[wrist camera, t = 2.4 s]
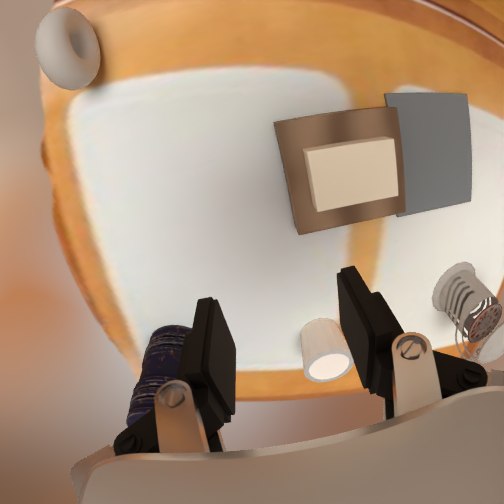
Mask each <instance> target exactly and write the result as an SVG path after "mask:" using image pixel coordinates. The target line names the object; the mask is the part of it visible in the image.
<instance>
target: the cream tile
mask: <svg viewBox="0 0 504 504" xmlns="http://www.w3.org/2000/svg"><path fill="white" fill-rule="evenodd" d="M303 153H304V158H305V163H306V168H307V174H308V179H309V185H310V191H311V196H312V202H313V206H314V208H315V209H316V211H317V212H321V211H325V210H330V209H335V208H340V207H344V206H349V205H354V204H359V203H364V202H369V201H374V200H379V199H384V198H389V197H394V196H398V179H397V166H396V155H395V145H394V139H393V138H389V137H385V136H384V137H376V138H368V139H361V140H354V141H347V142H340V143H334V144H328V145H322V146H316V147H311V148H305V149H303Z"/></svg>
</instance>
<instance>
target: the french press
mask: <svg viewBox="0 0 504 504" xmlns="http://www.w3.org/2000/svg"><path fill="white" fill-rule="evenodd" d="M489 297H491V305H490V306H489ZM486 298H487V306H486V308H485V309H484V310H483V311H482V309H483V307H484V305H485V299H486ZM432 302H433V306H434V307H435V308H436V309H437V310H438V311H445V312H446V313H447V315H448V316H449V317H450V319H451V320H452V321H453V323H454V324H455V325H456V333H455V341H456V345H457V348H458V350H459V352H460V354H461V355H462V357H463V358H465V359H466V360H468V361H475V360H477V359H478V360H479V362H480V363H488V362H491V361H495V360H496V359H497V358H499V357H500V356H502V355H503V354H504V322H503V323H501V324H500V325H499V326H497V327H496V328H495V330H494V331H493V332H492V330H493V329H494V327H495V326H496V325H497V323H498V322H499V319H500V318H501V315H502V307H501V305H500V304H498V300H497V298H496V297H495V296H494V295H493V294H492V293H491V292H490V291H489V290H488V289H487V288H486V287H485V286H484V285H483V284H482V283H481V282H480V281H479V280H478V279H477V278H476V277H475V269H474V267H473V266H472V264H470V263H467V262H462V263H458V264H456V265H454V266H453V267H451V268H450V269H448V270H447V271H446V272H445V273H444V275H443V276H442V277H441V278H440V279H439V281H438V283H437V285H436V287H435V288H434V292H433V296H432ZM480 302H482V304H481V307H480V308H479V309H478V310H477V311H476V312H474V313H472V314H470V312H471V311H472V310H474V309H475V308H476V307H477V306H478V305H479V303H480ZM449 310H451V313H450V312H449ZM480 311H482V312H481V313H480V314H479V315H478V316H477V317H476V318H475V319H474V318H473V316H475V315H477V314H478V313H479V312H480ZM453 313H454V314H455V318H454V317H453ZM457 318H458V319H459V320H460V321H459V323H458V322H457ZM462 327H463V328H462ZM464 327H465V328H466V330H467V331H468V336H467V334H466V333H465V331H464ZM457 329H459V331H460V332H461V334H462V341H463V345H464V348H465V350H466V351H467V353H468V354H469V355H470V356H471V357H473V358H474V359H468V358H466V357H465V356H464V355H463V354H462V352H461V350H460V349H459V346H458V343H457ZM490 332H491V334H490V335H489V336H488V338H487V339H486V340H485V342H484V343H483V345H482V347H481V348H480V349H477V350H476V353H477V355H478V357H477V358H476V357H474V356H472V355H471V354H470V353H469V351H468V350H467V349H466V346H465V344H464V340H463V336H464V337H465V338H466V337H468V340H469V341H470V342H477V341H480V340H482V339H483V338H484V337H486V336H487V335H488V334H489V333H490ZM478 350H480V351H479V353H478Z"/></svg>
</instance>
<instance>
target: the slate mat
mask: <svg viewBox="0 0 504 504" xmlns="http://www.w3.org/2000/svg"><path fill="white" fill-rule="evenodd" d="M384 96H385V101H386V107H397V111H398V118H399V125H400V133H401V142H402V152H403V163H404V177H405V200H406V212H404V213H399V214H397V217H401V216H406V215H410V214H415V213H420V212H424V211H429V210H433V209H438V208H443V207H447V206H452V205H456V204H461V203H465V202H470V201H471V189H472V149H471V130H470V118H469V109H468V100H467V94H454V93H393V94H384Z"/></svg>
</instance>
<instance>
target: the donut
mask: <svg viewBox="0 0 504 504" xmlns="http://www.w3.org/2000/svg"><path fill="white" fill-rule="evenodd" d="M35 51H36V55H37V59H38V62H39V64H40V66H41V68H42V70H43V72H44V73H45V74H46V76H47V77H48V78H49V79H50V81H52V82H53V83H54V84H56V85H57V86H59V87H61V88H64V89H67V90H77V89H81V88H84V87H86V86H87V85H89V84H90V83H91V81H92V80H93V79H94V78H95V77H96V75H97V73H98V70H99V67H100V48H99V43H98V40H97V36H96V34H95V32H94V29H93V28H92V26H91V24H90V23H89V21H88V20H87V19H86V18H85V16H84V15H83V14H82V13H80V12H79V11H77V10H76V9H72V8H68V7H63V8H59V9H56V10H53V11H51V12H50V13H49V14H47V15H46V16H45V18H44V19H43V20H42V21H41V22H40V24H39V26H38V29H37V32H36V36H35Z"/></svg>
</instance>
